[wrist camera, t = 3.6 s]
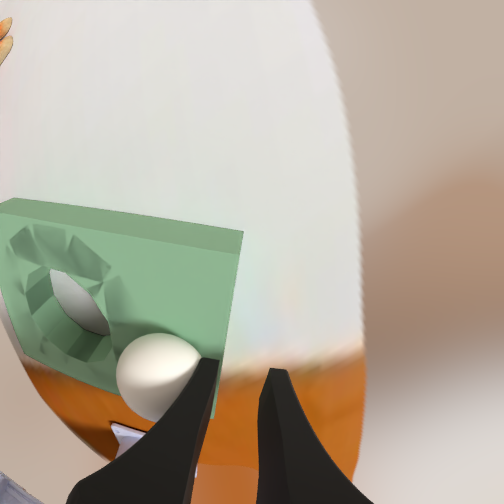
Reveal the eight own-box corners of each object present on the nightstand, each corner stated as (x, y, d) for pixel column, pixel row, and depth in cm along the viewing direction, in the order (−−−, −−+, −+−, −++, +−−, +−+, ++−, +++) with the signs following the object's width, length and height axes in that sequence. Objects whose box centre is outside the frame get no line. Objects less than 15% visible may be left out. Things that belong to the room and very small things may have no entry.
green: (218, 387, 15) (213, 418, 13) (41, 334, 15) (24, 353, 12) (243, 231, 11) (238, 255, 9) (13, 197, 11) (-15, 209, 8)
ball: (219, 400, 11) (176, 454, 8) (154, 366, 12) (105, 406, 9) (231, 339, 10) (175, 399, 6) (154, 305, 11) (90, 342, 8)
